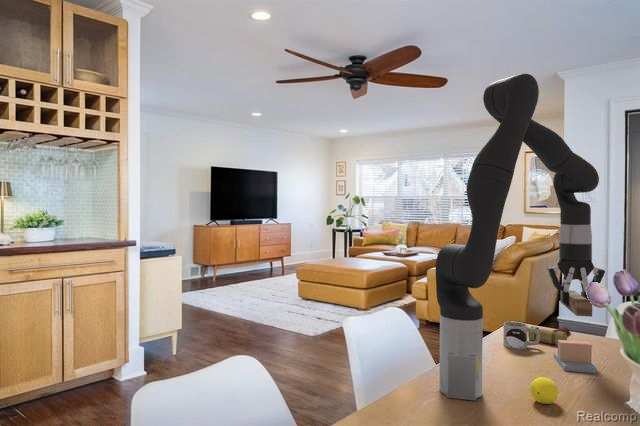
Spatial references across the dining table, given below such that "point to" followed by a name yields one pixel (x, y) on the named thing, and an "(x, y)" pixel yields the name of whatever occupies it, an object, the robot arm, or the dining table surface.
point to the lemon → (544, 390)
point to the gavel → (549, 335)
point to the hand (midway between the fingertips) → (575, 305)
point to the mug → (518, 335)
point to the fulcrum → (575, 356)
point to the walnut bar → (578, 304)
